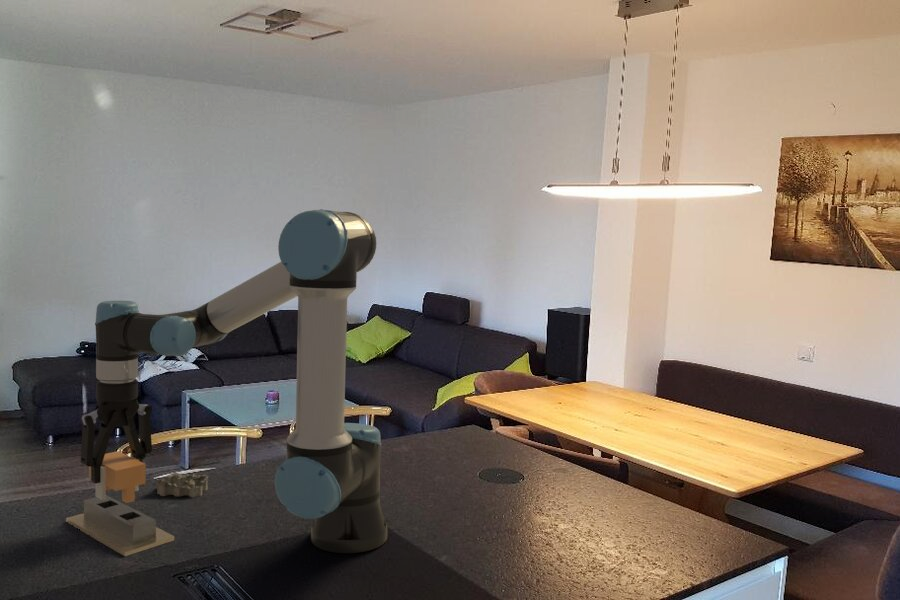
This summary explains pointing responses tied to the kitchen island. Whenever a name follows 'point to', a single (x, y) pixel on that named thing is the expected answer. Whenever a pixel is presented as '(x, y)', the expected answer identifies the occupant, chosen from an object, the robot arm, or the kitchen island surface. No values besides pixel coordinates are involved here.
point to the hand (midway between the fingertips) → (117, 493)
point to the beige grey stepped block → (119, 526)
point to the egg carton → (182, 485)
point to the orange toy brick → (123, 474)
